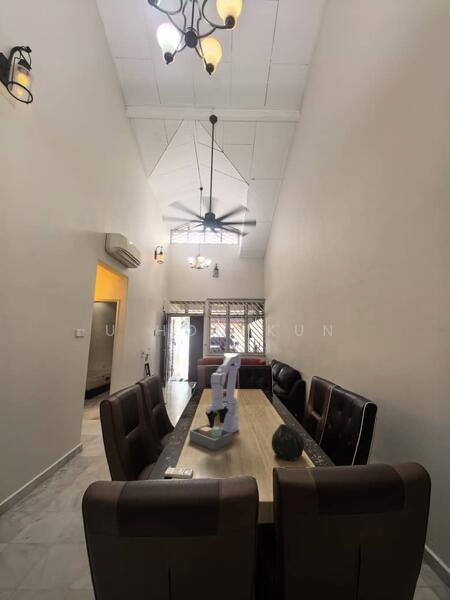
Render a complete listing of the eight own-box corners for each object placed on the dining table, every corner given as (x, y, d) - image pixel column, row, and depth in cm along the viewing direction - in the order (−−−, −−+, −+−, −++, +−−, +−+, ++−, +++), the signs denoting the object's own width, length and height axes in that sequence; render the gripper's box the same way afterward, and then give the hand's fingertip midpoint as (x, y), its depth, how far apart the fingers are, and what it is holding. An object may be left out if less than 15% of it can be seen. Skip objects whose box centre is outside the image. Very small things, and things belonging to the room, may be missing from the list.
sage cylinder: (216, 440, 136) (216, 426, 137) (223, 443, 133) (223, 428, 134) (209, 443, 132) (209, 428, 133) (216, 446, 129) (216, 431, 130)
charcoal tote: (189, 440, 136) (189, 430, 136) (207, 433, 146) (207, 424, 147) (214, 451, 124) (214, 440, 125) (232, 442, 135) (232, 432, 135)
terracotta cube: (205, 436, 141) (205, 426, 142) (212, 438, 138) (212, 428, 139) (198, 438, 137) (199, 428, 138) (205, 441, 134) (205, 431, 135)
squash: (315, 445, 121) (294, 415, 128) (300, 458, 110) (278, 424, 117) (294, 459, 127) (275, 429, 135) (278, 472, 116) (259, 439, 123)
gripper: (213, 401, 127) (212, 430, 126) (232, 396, 138) (231, 423, 137) (203, 398, 132) (202, 426, 130) (222, 393, 143) (221, 419, 141)
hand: (216, 424), depth 134 cm, fingers open, 7 cm apart
